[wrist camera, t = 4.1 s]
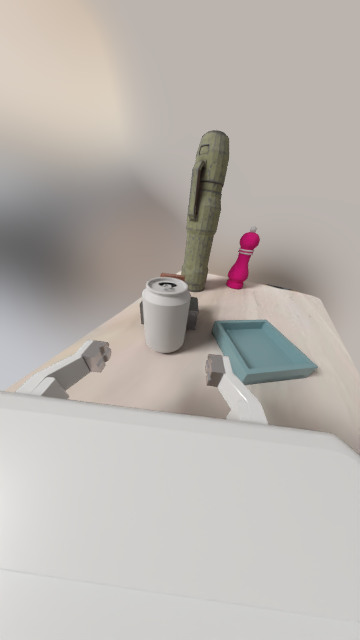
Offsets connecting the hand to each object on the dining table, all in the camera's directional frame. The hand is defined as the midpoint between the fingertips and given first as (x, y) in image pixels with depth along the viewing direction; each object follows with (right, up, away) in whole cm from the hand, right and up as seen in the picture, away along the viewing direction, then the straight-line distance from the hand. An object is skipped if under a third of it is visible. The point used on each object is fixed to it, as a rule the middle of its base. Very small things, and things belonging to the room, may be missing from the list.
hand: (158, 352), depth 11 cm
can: (-1, -2, +16) cm, 16 cm away
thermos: (+6, +15, +40) cm, 43 cm away
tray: (+16, -4, +16) cm, 23 cm away
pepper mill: (+24, +16, +45) cm, 53 cm away
